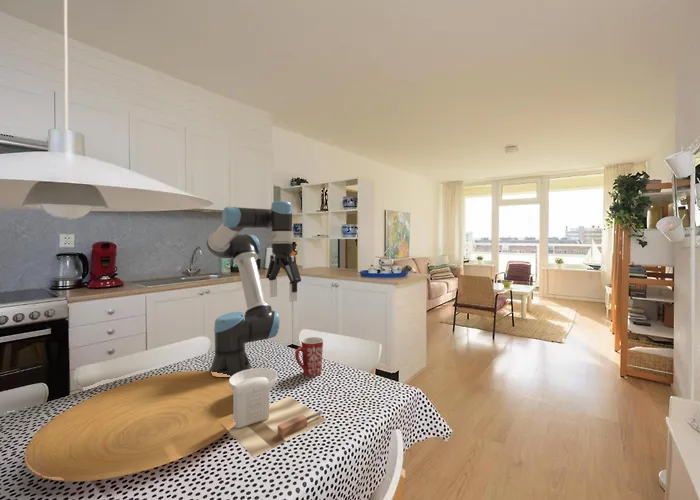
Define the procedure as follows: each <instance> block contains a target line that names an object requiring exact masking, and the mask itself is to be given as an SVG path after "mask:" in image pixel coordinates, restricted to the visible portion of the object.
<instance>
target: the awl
mask: <svg viewBox="0 0 700 500" xmlns="http://www.w3.org/2000/svg"><path fill="white" fill-rule="evenodd" d="M322 413H323V412H322V410H319V411H317V412H315V414H313V415H311V416H308V417H306V416H304V415H302V414H301V415H299V416H297V417H295V418H293V419H291V420H288V421H286V422H284V423H282V424H280V425H278V435H279V436H281V437H282V438H284V437H286V436H288V435H290V434H292V433H294V432H296V431H298V430H300V429H302V428H304V427H306V426H307V420H309V419H311V418H313V417H315V416H317V415H322Z"/></svg>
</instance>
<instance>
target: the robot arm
mask: <svg viewBox="0 0 700 500" xmlns="http://www.w3.org/2000/svg"><path fill="white" fill-rule="evenodd" d="M221 222H222V223H221V224H220V225H219V227H218V228H217V229H216V231H214V232H212V233H211V234H209V236H208V237H207V239H206V247H207V249H208V251H209V252H210V253H211V255H213V256H215V257H217V258H220V259H232V260H233V263H234V264H235V265H237V266H238V271H239V278H240V282H241V286H242V290H243V294H244V298H245V299H244V300H245V303H246V308H247V309H246V310H245V312H242V311H236V312H235V311H233V312H229V313H225V314H222V315H220V316H218V317H217V318H216V319H215V320H214V329H213V332H214V357H213V359H212V363H211V365H210V372H211V371H212V372H217V373H223V374H227V375H230V376H233V375H234V374H236V373H238V372H240V371H243V370H247V369H251V368H250V361H249V357H248V356H247V353H246V349H245V348H246V344H248V343H254V342H257V341H263V340H268V339H272V338H275V337H276V336H277V335H278V333H279V330H280V315H279V312H278V311H277V310H273V309H272V305H270V304H268V303H267V299H266V296H265V291H264V287H263V284H262V280H261V276H260V271H259V268H258V264H257V260H258V258H259V257H260V255H261V244H260V241H259V239H258V237H257V236H256V235H253V234H249V233H245V234H240V232H242V230H243V229H244V228H251V229H252V228H253V229H254V228H255V229H267V230H268V229H270V230H271V237H272V238H271V241H272V242H273V243H272V244H271V251H272V254H273V255H272V254H271V255H270V256H269V262H268V268H267V270H266V271H267V272H266V275H265V277H266V278H267V279H268V280H269V297H270V298H276V297H278V281H277V279H278V277H277V276H278V274H279V273H280V270H281V269H283V270H284V271H285V274H286V275H287V277H288V279H289V288H288V290H289V294H288V295H289V296H288V297H289V298H288V299H289V302H290V303H291V302H297V301H298V283H299V282H301V281H302V278H301V274H300V271H299V267H298V265H297V262H296V261H297V258H296V256H295V255H291V254H293V244H292V242H293V208H292V203H291V202H289V201H283V200H279V201H278V200H277V201H272V202H271V207H270V208H251V207H250V208H249V207H240V206H239V207H237V206H230V207H229V206H228V207H224V208H223V210H222V213H221Z"/></svg>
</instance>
